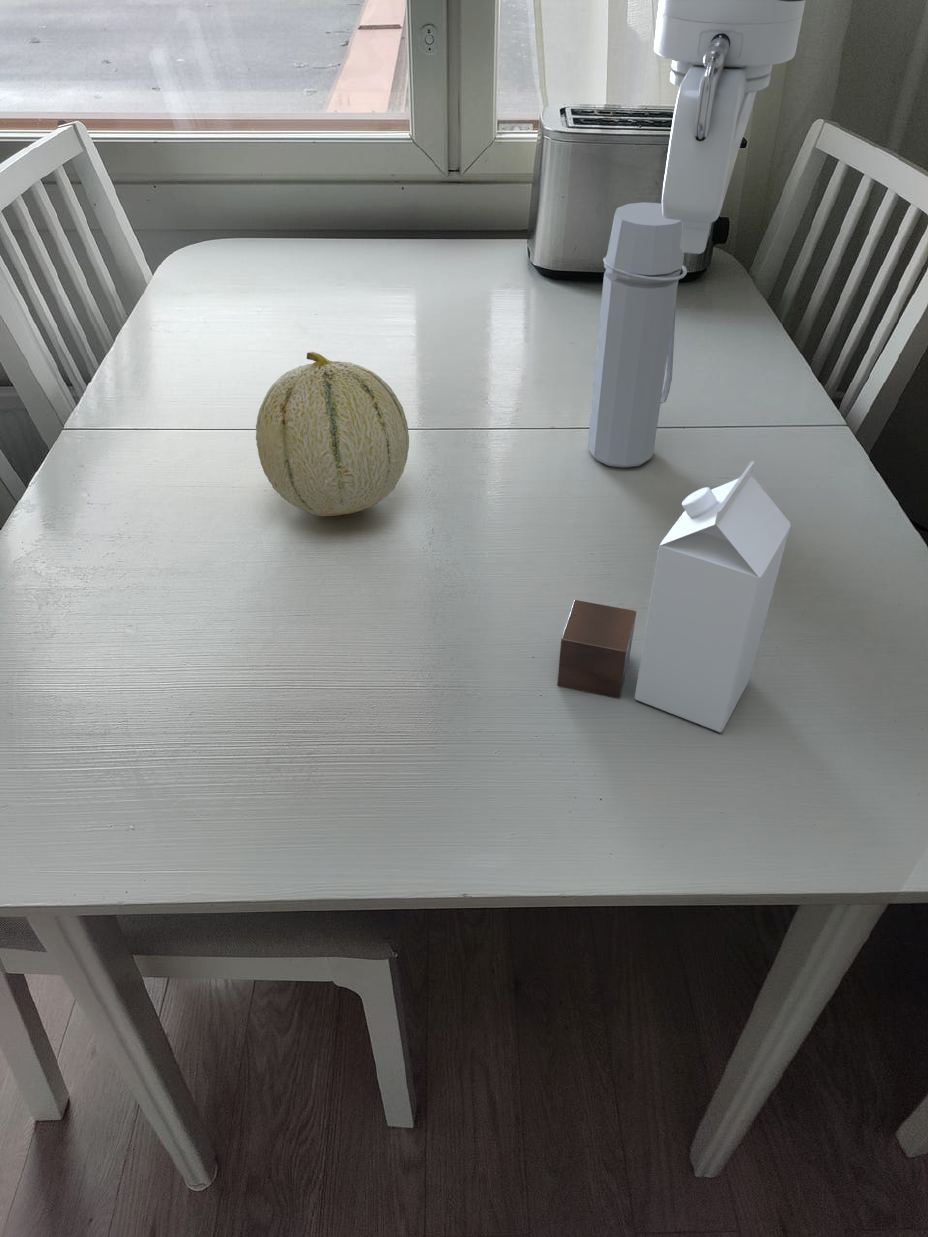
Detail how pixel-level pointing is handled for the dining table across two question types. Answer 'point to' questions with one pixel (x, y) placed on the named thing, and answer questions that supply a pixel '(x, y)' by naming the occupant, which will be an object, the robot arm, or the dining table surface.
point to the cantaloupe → (332, 437)
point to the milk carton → (711, 601)
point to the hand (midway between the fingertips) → (693, 246)
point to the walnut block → (596, 648)
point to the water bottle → (635, 334)
